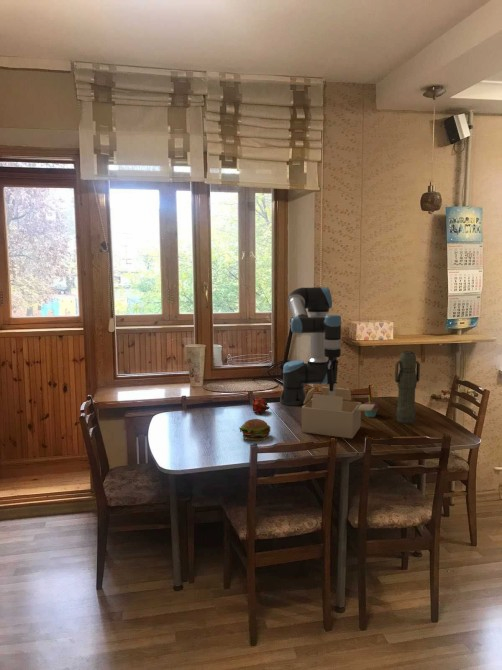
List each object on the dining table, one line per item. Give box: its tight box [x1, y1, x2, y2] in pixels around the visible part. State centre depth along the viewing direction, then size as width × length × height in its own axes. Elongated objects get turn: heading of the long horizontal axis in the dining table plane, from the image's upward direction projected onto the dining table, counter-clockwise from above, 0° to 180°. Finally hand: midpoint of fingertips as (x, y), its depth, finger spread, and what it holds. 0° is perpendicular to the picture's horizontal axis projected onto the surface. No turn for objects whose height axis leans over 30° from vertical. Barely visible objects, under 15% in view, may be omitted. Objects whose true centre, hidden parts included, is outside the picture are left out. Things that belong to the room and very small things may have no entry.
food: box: [238, 418, 271, 442], centre depth 237 cm, size 14×14×8 cm
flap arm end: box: [303, 386, 315, 405], centre depth 248 cm, size 1×9×6 cm, turn 158°
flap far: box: [321, 386, 352, 402], centre depth 251 cm, size 14×1×6 cm, turn 66°
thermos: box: [394, 350, 421, 425], centre depth 255 cm, size 9×12×35 cm
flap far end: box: [357, 403, 375, 412], centre depth 238 cm, size 1×9×6 cm
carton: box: [301, 397, 362, 439], centre depth 245 cm, size 24×18×12 cm
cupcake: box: [363, 394, 380, 418], centre depth 265 cm, size 9×8×12 cm
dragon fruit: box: [251, 397, 270, 415], centre depth 273 cm, size 8×8×12 cm
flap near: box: [311, 393, 344, 411], centre depth 236 cm, size 14×1×6 cm, turn 66°
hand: (331, 397), depth 244 cm, fingers closed
